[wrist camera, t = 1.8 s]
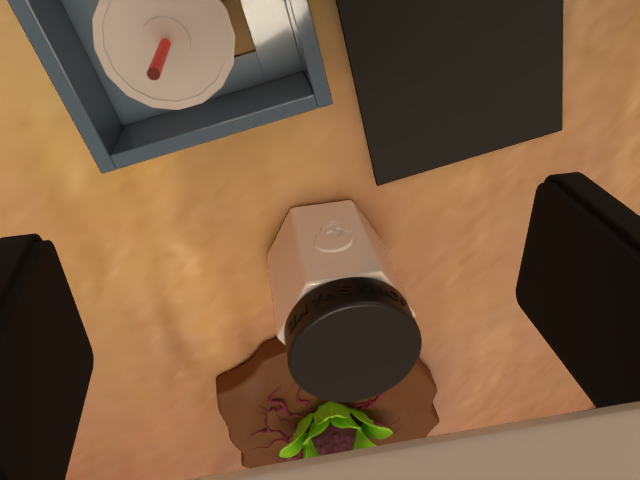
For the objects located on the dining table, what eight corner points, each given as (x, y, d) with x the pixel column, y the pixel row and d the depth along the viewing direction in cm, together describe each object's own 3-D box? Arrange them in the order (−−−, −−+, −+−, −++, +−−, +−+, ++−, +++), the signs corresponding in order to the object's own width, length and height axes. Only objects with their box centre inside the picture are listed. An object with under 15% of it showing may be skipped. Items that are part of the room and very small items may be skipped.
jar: (379, 191, 40) (433, 290, 30) (380, 279, 44) (426, 390, 34) (259, 208, 39) (272, 315, 29) (272, 295, 43) (287, 414, 33)
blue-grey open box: (258, -161, 27) (265, -171, 23) (320, 79, 35) (333, 104, 30) (3, -82, 28) (-36, -78, 23) (116, 141, 35) (101, 174, 31)
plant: (390, 285, 45) (434, 388, 35) (450, 416, 55) (497, 522, 46) (179, 378, 47) (168, 498, 37) (277, 487, 57) (287, 602, 48)
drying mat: (560, -219, 28) (564, -221, 28) (559, 128, 39) (562, 130, 39) (305, -141, 28) (305, -141, 28) (376, 183, 39) (377, 186, 39)
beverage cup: (111, -49, 29) (38, -13, 17) (224, -56, 30) (226, -26, 18) (137, 65, 32) (89, 160, 21) (238, 57, 33) (248, 144, 21)
